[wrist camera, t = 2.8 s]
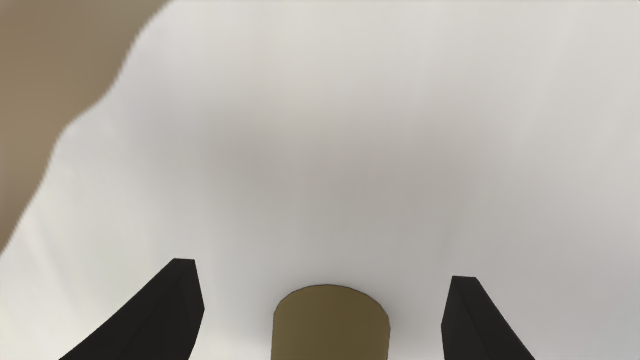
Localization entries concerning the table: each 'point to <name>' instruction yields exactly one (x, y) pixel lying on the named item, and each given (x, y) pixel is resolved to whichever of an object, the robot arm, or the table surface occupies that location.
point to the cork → (329, 326)
